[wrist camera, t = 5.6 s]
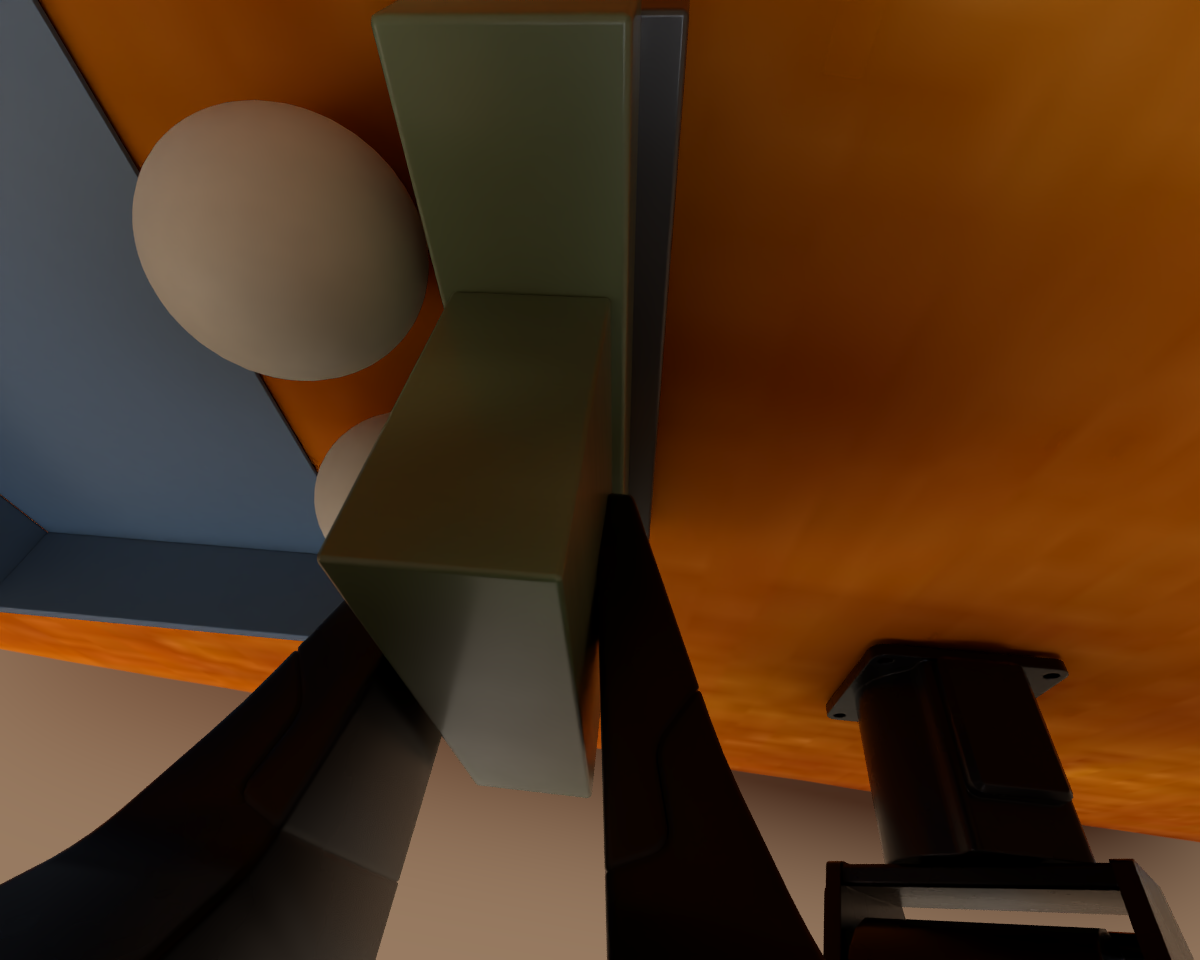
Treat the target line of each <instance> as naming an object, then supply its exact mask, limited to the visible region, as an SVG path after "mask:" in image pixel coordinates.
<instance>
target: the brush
mask: <svg viewBox="0 0 1200 960" xmlns="http://www.w3.org/2000/svg"><path fill="white" fill-rule="evenodd" d="M689 8H690V0H397V1H395V2H394V3H392V4H390V5H389V6H387V7H385V8H383V9H382V10H380V11H378V12H377V13H375V14H374V15H372V18H371V26H372V29H373V33H374V37H375V41H376V45H377V49H378V53H379V57H380V61H381V65H382V68H383V72H384V76H385V80H386V84H387V88H388V92H389V96H390V100H391V104H392V108H393V111H394V115H395V119H396V123H397V127H398V131H399V135H400V139H401V143H402V147H403V150H404V154H405V158H406V162H407V166H408V170H409V174H410V178H411V182H412V186H413V190H414V193H415V197H416V201H417V205H418V209H419V213H420V217H421V221H422V225H423V229H424V232H425V236H426V240H427V244H428V248H429V252H430V256H431V260H432V264H433V268H434V272H435V275H436V279H437V283H438V287H439V291H440V295H441V299H442V303H443V307H444V310H443V312H442V314H441V316H440V318H439V320H438V322H437V324H436V326H435V328H434V330H433V332H432V334H431V336H430V337H429V339H428V341H427V343H426V345H425V347H424V349H423V351H422V353H421V355H420V357H419V359H418V361H417V363H416V365H415V366H414V368H413V370H412V372H411V374H410V376H409V378H408V380H407V382H406V384H405V386H404V388H403V390H402V392H401V394H400V395H399V397H398V399H397V401H396V403H395V405H394V407H393V409H392V411H391V413H390V415H389V417H388V419H387V421H386V423H385V424H384V426H383V428H382V430H381V432H380V434H379V436H378V438H377V440H376V442H375V444H374V446H373V448H372V450H371V452H370V453H369V455H368V457H367V459H366V461H365V463H364V465H363V467H362V469H361V471H360V473H359V475H358V477H357V479H356V481H355V482H354V484H353V486H352V488H351V490H350V492H349V494H348V496H347V498H346V500H345V502H344V504H343V506H342V508H341V510H340V511H339V513H338V515H337V517H336V519H335V521H334V523H333V525H332V527H331V529H330V531H329V533H328V535H327V537H326V539H325V540H324V542H323V544H322V546H321V548H320V550H319V552H318V554H317V562H318V564H319V565H320V566H321V568H322V569H323V571H324V572H325V573H326V575H327V576H328V578H329V579H330V580H331V582H332V583H333V585H334V586H335V587H336V589H337V590H338V591H339V593H340V594H341V596H342V597H343V598H344V600H345V601H346V603H347V604H348V605H349V607H350V608H351V610H352V611H353V612H354V614H355V615H356V617H357V618H358V619H359V621H360V622H361V624H362V625H363V626H364V628H365V629H366V631H367V632H368V633H369V635H370V636H371V638H372V639H373V640H374V642H375V643H376V645H377V646H378V647H379V649H380V650H381V652H382V653H383V654H384V656H385V657H386V659H387V660H388V661H389V663H390V664H391V666H392V667H393V668H394V670H395V671H396V673H397V674H398V675H399V677H400V678H401V680H402V681H403V682H404V684H405V685H406V687H407V688H408V689H409V691H410V692H411V693H412V695H413V696H414V698H415V699H416V700H417V702H418V703H419V705H420V706H421V707H422V709H423V710H424V712H425V713H426V714H427V716H428V717H429V719H430V720H431V721H432V723H433V724H434V726H435V727H436V728H437V730H438V731H439V733H440V734H441V735H442V737H443V738H444V739H445V741H446V742H447V744H448V745H449V747H450V748H451V749H452V751H453V752H454V753H455V755H456V756H457V758H458V759H459V761H460V762H461V763H462V765H463V766H464V767H465V769H466V770H467V772H468V773H469V774H470V776H471V777H472V779H473V780H474V782H475V783H476V784H477V785H483V786H491V787H500V788H508V789H517V790H525V791H533V792H542V793H551V794H560V795H568V796H576V797H585V798H588V797H590V796H591V794H592V786H593V776H594V767H595V757H596V748H597V738H598V729H599V719H600V710H601V708H600V671H599V635H598V598H597V567H598V559H599V552H600V546H601V539H602V533H603V526H604V520H605V513H606V507H607V500H608V495H609V494H610V493H616V494H629V495H631V496H632V497H633V498H634V500H635V503H636V506H637V509H638V512H639V515H640V517H641V520H642V523H643V526H644V529H645V532H646V535H647V538H648V541H649V536H650V523H651V510H652V497H653V484H654V471H655V458H656V445H657V432H658V419H659V405H660V392H661V379H662V366H663V353H664V340H665V327H666V314H667V301H668V288H669V275H670V262H671V249H672V236H673V223H674V210H675V197H676V184H677V170H678V157H679V144H680V131H681V118H682V105H683V92H684V79H685V66H686V53H687V40H688V27H689Z"/></svg>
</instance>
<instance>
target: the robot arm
mask: <svg viewBox="0 0 1200 960" xmlns="http://www.w3.org/2000/svg"><path fill="white" fill-rule="evenodd" d="M597 598H598V635H599V671H600V708H601V745H602V779H603V780H602V781H603V819H604V855H605V892H606V932H607V960H1194V959H1193V957H1192V954H1191V952H1190V950H1189V948H1188V946H1187V944H1186V941H1185V939H1184V937H1183V935H1182V933H1181V931H1180V929H1179V926H1178V924H1177V922H1176V920H1175V918H1174V916H1173V914H1172V911H1171V909H1170V907H1169V905H1168V903H1167V901H1166V899H1165V896H1164V894H1163V892H1162V890H1161V888H1160V887H1159V886H1158V885H1157V884H1156V883H1155V882H1154V881H1153V879H1152V878H1151V877H1150V876H1149V875H1148V874H1147V873H1146V872H1145V871H1144V870H1143V869H1142V868H1141V867H1140V866H1139V865H1138V864H1137V863H1136V862H1135V861H1134V859H1109V862H1110V863H1096V862H1095V859H1094V856H1093V854H1092V851H1091V849H1090V846H1089V844H1088V841H1087V838H1086V836H1085V833H1084V831H1083V828H1082V825H1081V823H1080V820H1079V818H1078V815H1077V813H1076V810H1075V808H1074V805H1073V802H1072V798H1073V793H1072V790H1071V787H1070V785H1069V782H1068V779H1067V777H1066V774H1065V772H1064V769H1063V767H1062V764H1061V762H1060V759H1059V757H1058V754H1057V751H1056V749H1055V746H1054V744H1053V741H1052V739H1051V736H1050V734H1049V731H1048V729H1047V726H1046V724H1045V721H1044V718H1043V716H1042V713H1041V711H1040V708H1039V706H1038V703H1037V701H1036V698H1037V697H1038V696H1040V695H1041V694H1043V693H1044V692H1046V691H1047V690H1049V689H1050V688H1052V687H1053V686H1055V685H1056V684H1058V683H1059V682H1061V681H1062V680H1064V679H1065V678H1067V677H1068V675H1069V674H1068V671H1067V669H1066V667H1065V664H1064V662H1063V661H1061V660H1059V659H1051V658H1040V657H1029V656H1017V655H1006V654H994V653H983V652H972V651H960V650H949V649H938V648H926V647H915V646H904V645H892V644H880V645H875V646H872V647H871V648H869V649H868V650H867V652H866V653H865V654H864V656H863V657H862V658H861V660H860V661H859V662H858V664H857V665H856V666H855V667H854V669H853V670H852V671H851V673H850V674H849V675H848V677H847V678H846V679H845V681H844V682H843V683H842V685H841V686H840V687H839V688H838V690H837V691H836V692H835V694H834V695H833V696H832V698H831V699H830V700H829V702H828V703H827V704H826V711H827V716H828V717H829V718H831V719H837V720H847V721H857V722H859V727H860V733H861V738H862V744H863V749H864V754H865V760H866V765H867V771H868V776H869V782H870V787H871V792H872V798H873V803H874V809H875V814H876V819H877V825H878V830H879V835H880V841H881V846H882V852H883V857H884V863H885V864H848V863H846V862H844V861H828V862H827V864H826V888H825V893H824V954H823V955H822V953H821V951H820V950H819V948H818V946H817V944H816V943H815V941H814V939H813V937H812V935H811V934H810V932H809V930H808V929H807V926H806V925H805V923H804V921H803V919H802V917H801V915H800V914H799V911H798V909H797V908H796V905H795V904H794V902H793V900H792V898H791V896H790V894H789V892H788V890H787V888H786V886H785V884H784V881H783V879H782V877H781V875H780V873H779V871H778V869H777V867H776V865H775V863H774V861H773V859H772V856H771V854H770V852H769V851H768V848H767V846H766V844H765V842H764V840H763V838H762V836H761V834H760V832H759V830H758V827H757V825H756V823H755V821H754V819H753V817H752V815H751V813H750V811H749V809H748V807H747V805H746V803H745V800H744V798H743V796H742V794H741V792H740V790H739V788H738V785H737V783H736V781H735V779H734V776H733V774H732V772H731V769H730V767H729V765H728V763H727V760H726V758H725V756H724V754H723V751H722V748H721V746H720V743H719V740H718V738H717V735H716V732H715V730H714V727H713V725H712V722H711V719H710V717H709V714H708V711H707V708H706V705H705V702H704V699H703V696H702V694H701V692H700V691H698V688H699V686H698V683H697V680H696V677H695V674H694V671H693V668H692V665H691V662H690V660H689V657H688V654H687V651H686V648H685V645H684V642H683V639H682V636H681V633H680V631H679V628H678V625H677V622H676V619H675V616H674V613H673V610H672V607H671V604H670V602H669V599H668V596H667V593H666V590H665V587H664V584H663V581H662V578H661V575H660V573H659V570H658V567H657V564H656V561H655V558H654V555H653V552H652V549H651V546H650V544H649V541H648V538H647V535H646V532H645V529H644V526H643V523H642V520H641V517H640V515H639V512H638V509H637V506H636V503H635V500H634V498H633V497H632V496H631V495H629V494H616V493H610V494H609V495H608V500H607V507H606V513H605V520H604V526H603V533H602V539H601V546H600V552H599V559H598V567H597ZM441 736H442V735H441V734H440V733H439V731H438V730H437V728H436V727H435V726H434V724H433V723H432V721H431V720H430V719H429V717H428V716H427V714H426V713H425V712H424V710H423V709H422V707H421V706H420V705H419V703H418V702H417V700H416V699H415V698H414V696H413V695H412V693H411V692H410V691H409V689H408V688H407V687H406V685H405V684H404V682H403V681H402V680H401V678H400V677H399V675H398V674H397V673H396V671H395V670H394V668H393V667H392V666H391V664H390V663H389V661H388V660H387V659H386V657H385V656H384V654H383V653H382V652H381V650H380V649H379V647H378V646H377V645H376V643H375V642H374V640H373V639H372V638H371V636H370V635H369V633H368V632H367V631H366V629H365V628H364V626H363V625H362V624H361V622H360V621H359V619H358V618H357V617H356V615H355V614H354V612H353V611H352V610H351V608H350V607H349V605H348V604H347V603H346V601H345V600H344V601H343V602H342V603H341V604H340V605H339V606H338V607H337V608H336V609H335V610H334V611H333V612H332V613H331V614H330V615H329V616H328V617H327V618H326V619H325V620H324V621H323V622H322V623H321V624H320V625H319V626H318V627H317V628H316V629H315V630H314V631H313V632H312V634H311V635H310V636H309V637H308V638H307V639H306V640H305V641H304V642H303V643H302V644H301V645H300V646H299V647H298V651H294V652H293V653H292V654H291V655H290V656H289V657H288V658H287V659H286V660H285V661H284V662H283V663H282V664H281V665H280V666H279V667H278V668H277V669H276V670H275V671H274V672H273V673H272V674H271V675H270V676H269V677H268V678H267V679H266V680H265V681H264V682H263V683H262V684H261V685H260V686H259V687H258V688H257V689H256V690H255V691H254V692H253V693H252V694H251V695H250V696H249V697H248V698H247V699H246V700H245V701H244V702H243V703H241V704H240V705H239V706H238V707H237V708H236V709H235V710H234V711H233V712H231V713H230V714H229V715H228V716H227V717H226V718H225V719H224V720H223V721H221V722H220V723H219V724H218V725H217V726H216V727H215V728H214V729H213V730H212V731H210V732H209V733H208V734H207V735H206V736H205V737H204V738H202V739H201V740H200V741H199V742H198V743H197V744H196V745H195V746H193V747H192V748H191V749H190V750H189V751H188V752H186V753H185V754H184V755H183V756H182V757H181V758H179V759H178V760H177V761H176V762H175V763H174V764H173V765H171V766H170V767H169V768H168V769H167V770H166V771H164V772H163V773H162V774H161V775H160V776H159V777H158V778H156V779H155V780H154V781H153V782H152V783H151V784H150V785H148V786H147V787H146V788H145V789H144V790H143V791H142V792H140V793H139V794H138V795H137V796H136V797H135V798H134V799H132V800H131V801H130V802H129V803H128V804H127V805H126V806H124V807H123V808H122V809H121V810H120V811H118V812H117V813H116V814H115V815H114V816H112V817H111V818H110V819H109V820H107V821H106V822H105V823H103V824H102V825H101V826H99V827H98V828H97V829H95V830H94V831H93V832H92V833H90V834H89V835H87V836H86V837H84V838H83V839H81V840H80V841H78V842H77V843H75V844H74V845H72V846H71V847H69V848H67V849H66V850H64V851H62V852H61V853H59V854H57V855H56V856H54V857H52V858H51V859H49V860H47V861H45V862H43V863H41V864H39V865H37V866H35V867H33V868H31V869H30V870H28V871H26V872H24V873H22V874H20V875H18V876H16V877H14V878H12V879H10V880H8V881H6V882H4V883H2V884H0V960H376V956H377V952H378V949H379V946H380V943H381V939H382V935H383V933H384V929H385V926H386V922H387V919H388V916H389V912H390V909H391V905H392V902H393V898H394V895H395V892H396V889H397V885H398V883H397V881H398V880H399V878H400V874H401V871H402V867H403V864H404V861H405V857H406V854H407V851H408V847H409V844H410V840H411V837H412V834H413V831H414V827H415V824H416V820H417V817H418V814H419V810H420V807H421V804H422V800H423V797H424V793H425V790H426V786H427V783H428V780H429V777H430V773H431V770H432V766H433V763H434V759H435V756H436V753H437V750H438V746H439V743H440V739H441ZM902 907H918V908H919V907H920V908H945V909H973V910H974V909H976V910H1002V911H1030V912H1058V913H1059V912H1060V913H1088V914H1115V915H1129V918H1130V921H1131V924H1132V927H1133V929H1134V932H1135V933H1126V932H1107V931H1106V929H1100V928H1079V927H1058V926H1038V925H1036V926H1035V925H1017V924H995V923H974V922H953V921H931V920H910V919H905V916H904V913H903V909H902Z"/></svg>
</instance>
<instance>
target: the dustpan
mask: <svg viewBox="0 0 1200 960" xmlns="http://www.w3.org/2000/svg"><path fill="white" fill-rule="evenodd" d="M139 174H140V173H139V171H138V169H137V168H136V166H135V164H134V163H133V161H132V159H131V157H130V156H129V154H128V152H127V151H126V149H125V147H124V146H123V144H122V142H121V141H120V139H119V137H118V135H117V134H116V132H115V130H114V129H113V127H112V125H111V124H110V122H109V120H108V119H107V117H106V115H105V114H104V112H103V110H102V108H101V107H100V105H99V103H98V102H97V100H96V98H95V97H94V95H93V93H92V92H91V90H90V88H89V86H88V85H87V83H86V81H85V80H84V78H83V76H82V75H81V73H80V71H79V70H78V68H77V66H76V64H75V63H74V61H73V59H72V58H71V56H70V54H69V53H68V51H67V49H66V48H65V46H64V44H63V43H62V41H61V39H60V37H59V36H58V34H57V32H56V31H55V29H54V27H53V26H52V24H51V22H50V21H49V19H48V17H47V15H46V14H45V12H44V10H43V9H42V7H41V5H40V4H39V2H38V0H0V494H1V495H2V496H3V497H4V498H6V499H7V500H8V501H9V502H11V503H12V504H13V505H15V506H16V507H17V508H18V509H20V510H21V511H22V512H23V513H25V514H26V515H27V516H28V517H30V518H31V519H32V520H34V521H35V522H36V523H37V524H39V525H40V526H41V527H42V528H44V529H45V530H46V531H48V532H46V531H45V530H44V529H42V528H41V527H40V526H39V525H37V524H36V523H35V522H34V521H32V520H31V519H30V518H28V517H27V516H26V515H25V514H23V513H22V512H21V511H20V510H18V509H17V508H16V507H14V506H13V505H12V504H11V503H9V502H8V501H7V500H5V499H4V498H3V497H2V496H0V612H6V613H16V614H27V615H37V616H48V617H58V618H69V619H79V620H89V621H100V622H110V623H121V624H131V625H142V626H152V627H163V628H173V629H183V630H194V631H204V632H215V633H225V634H236V635H246V636H256V637H267V638H277V639H288V640H298V641H305V640H306V639H307V638H308V637H309V636H310V635H311V634H312V632H313V631H314V630H315V629H316V628H317V627H318V626H319V625H320V624H321V623H322V622H323V621H324V620H325V619H326V618H327V617H328V616H329V615H330V614H331V613H332V612H333V611H334V610H335V609H336V608H337V607H338V606H339V605H340V604H341V603H342V602H343V601H344V598H343V597H342V596H341V594H340V593H339V591H338V590H337V589H336V587H335V586H334V585H333V583H332V582H331V580H330V579H329V578H328V576H327V575H326V573H325V572H324V571H323V569H322V568H321V566H320V565H319V564H318V562H317V554H318V552H319V550H320V548H321V546H322V544H323V542H324V540H325V537H324V535H323V533H322V531H321V529H320V526H319V523H318V520H317V516H316V512H315V504H314V492H315V484H316V478H317V475H318V474H317V472H316V470H315V468H314V467H313V465H312V463H311V462H310V460H309V458H308V457H307V455H306V453H305V452H304V450H303V448H302V447H301V445H300V443H299V441H298V440H297V438H296V436H295V435H294V433H293V431H292V430H291V428H290V426H289V425H288V423H287V421H286V419H285V418H284V416H283V414H282V413H281V411H280V409H279V408H278V406H277V404H276V403H275V401H274V399H273V397H272V396H271V394H270V392H269V391H268V389H267V387H266V386H265V384H264V382H263V381H262V379H261V377H260V376H259V374H258V373H257V372H254V371H250V370H248V369H245V368H243V367H241V366H239V365H237V364H235V363H233V362H230V361H228V360H226V359H224V358H222V357H221V356H219V355H218V354H216V353H215V352H213V351H212V350H210V349H209V348H207V347H206V346H204V345H203V344H201V343H200V342H199V341H197V340H196V339H195V338H194V337H193V336H192V335H190V334H189V333H188V332H187V331H186V330H185V329H184V328H183V327H182V326H181V325H180V324H179V323H178V322H177V321H176V320H175V319H174V317H173V316H172V315H171V314H170V313H169V312H168V310H167V309H166V308H165V306H164V305H163V304H162V302H161V301H160V299H159V297H158V296H157V294H156V293H155V291H154V289H153V288H152V286H151V284H150V282H149V280H148V278H147V276H146V274H145V272H144V270H143V267H142V264H141V262H140V259H139V256H138V252H137V248H136V244H135V240H134V233H133V225H132V208H133V198H134V193H135V188H136V184H137V180H138V176H139Z"/></svg>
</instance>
